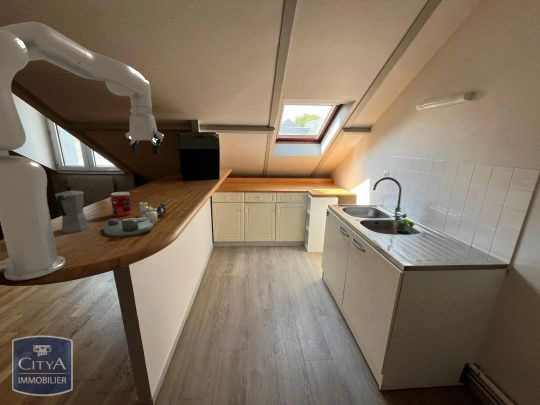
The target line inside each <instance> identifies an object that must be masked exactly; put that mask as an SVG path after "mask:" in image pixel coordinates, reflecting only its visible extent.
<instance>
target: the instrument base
mask: <svg viewBox="0 0 540 405" xmlns="http://www.w3.org/2000/svg"><path fill="white" fill-rule="evenodd" d="M144 217H147V216H146V215H141V214H140V215H137V217H136V218H144ZM138 227H139V229H138V230H135V231H131V232H124V231H123V230H122V222H121V220H119V219H118V218H117V217H116V218H110V219H109V218H108V219H107V225H105V226H104V227H103V233H104V234H105V235H106V234H107V235H106V236H110V237H128V236H135V235H139V234H140V235H141V234H143V233H146V232H148V231H150V230H151V229H153V228H154V223H150V222H149V220H145V221H138Z"/></svg>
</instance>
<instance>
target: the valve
mask: <svg viewBox="0 0 540 405" xmlns="http://www.w3.org/2000/svg"><path fill="white" fill-rule="evenodd" d="M138 206H139V208H138V211H139V213H140V215H146V217H149V212H157V214H158V217H160V218H161V217H163V218H164V216H165V215H166V214H167V212H166V210H167V207H166V204H163V203H160V204H159V206H158V207H157V208H156V207H152V206H148V202H147V201H141V202H139V205H138Z"/></svg>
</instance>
